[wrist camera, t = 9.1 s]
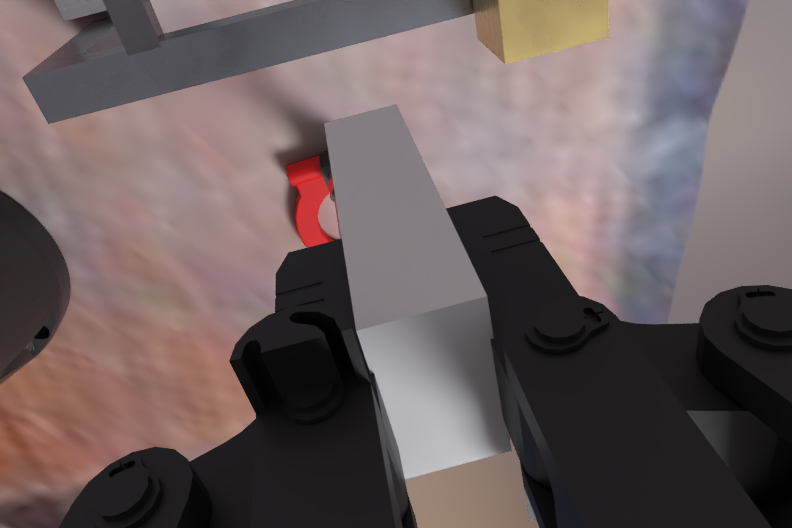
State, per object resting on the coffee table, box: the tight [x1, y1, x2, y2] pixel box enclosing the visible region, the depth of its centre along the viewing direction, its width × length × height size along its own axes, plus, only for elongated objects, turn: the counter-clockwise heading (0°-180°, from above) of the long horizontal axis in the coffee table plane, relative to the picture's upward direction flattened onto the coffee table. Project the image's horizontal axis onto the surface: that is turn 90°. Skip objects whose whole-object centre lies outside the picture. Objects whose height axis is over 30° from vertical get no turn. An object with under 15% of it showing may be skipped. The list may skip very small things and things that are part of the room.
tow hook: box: [286, 151, 342, 248], centre depth 37 cm, size 8×13×9 cm
